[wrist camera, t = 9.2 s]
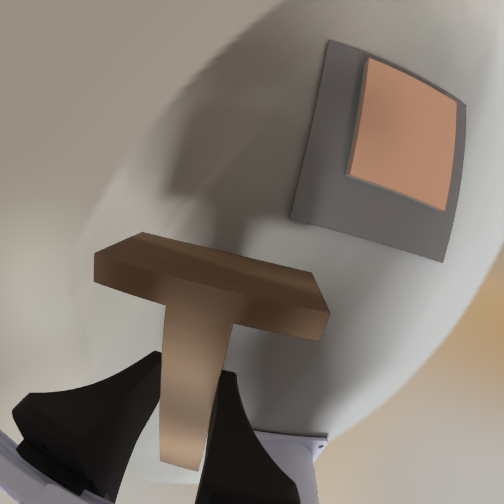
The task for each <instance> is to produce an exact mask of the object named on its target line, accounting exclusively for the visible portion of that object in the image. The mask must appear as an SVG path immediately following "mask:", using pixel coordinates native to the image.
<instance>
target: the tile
mask: <svg viewBox="0 0 504 504" xmlns="http://www.w3.org/2000/svg"><path fill="white" fill-rule="evenodd" d="M456 108H457V102H455V101H454V100H452V99H450V98H449V97H447V96H446V95H444V94H442V93H441V92H439V91H437V90H435V89H434V88H432V87H430V86H428V85H427V84H425V83H423V82H421V81H419V80H417V79H415V78H413V77H411V76H409V75H407V74H405V73H403V72H401V71H399V70H397V69H395V68H392V67H390V66H388V65H386V64H383V63H381V62H379V61H376V60H374V59H371V58H369V59H368V60H367V61H366V62H365V64H364V65H363V71H362V79H361V86H360V93H359V99H358V105H357V111H356V117H355V123H354V129H353V134H352V139H351V144H350V149H349V154H348V159H347V164H346V169H345V173H344V176H346V177H349V178H352V179H355V180H358V181H361V182H364V183H367V184H370V185H373V186H376V187H378V188H381V189H384V190H387V191H389V192H392V193H395V194H397V195H400V196H403V197H405V198H408V199H410V200H413V201H415V202H418V203H420V204H423V205H425V206H427V207H430V208H432V209H434V210H441V211H445V208H446V203H447V197H448V192H449V186H450V180H451V173H452V165H453V157H454V147H455V134H456Z"/></svg>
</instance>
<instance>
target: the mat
mask: <svg viewBox="0 0 504 504" xmlns="http://www.w3.org/2000/svg"><path fill="white" fill-rule="evenodd" d="M369 58H371V59H374V60H376V61H379V62H381V63H383V64H386V65H388V66H390V67H392V68H395V69H397V70H399V71H401V72H403V73H405V74H407V75H409V76H411V77H413V78H415V79H417V80H419V81H421V82H423V83H425V84H427V85H428V86H430V87H432V88H434V89H435V90H437V91H439V92H441V93H442V94H444V95H446V96H447V97H449V98H450V99H452V100H454V101H455V102H457V108H456V134H455V147H454V157H453V165H452V173H451V180H450V186H449V192H448V197H447V203H446V208H445V211H441V210H434V209H432V208H430V207H427V206H425V205H423V204H420V203H418V202H415V201H413V200H410V199H408V198H405V197H403V196H400V195H397V194H395V193H392V192H389V191H387V190H384V189H381V188H378V187H376V186H373V185H370V184H367V183H364V182H361V181H358V180H355V179H352V178H349V177H346V176H344V173H345V169H346V164H347V159H348V154H349V149H350V144H351V139H352V134H353V129H354V123H355V117H356V111H357V105H358V99H359V93H360V86H361V79H362V71H363V65H364V64H365V62H366V61H367V60H368V59H369ZM465 133H466V105H465V104H464V103H462V102H461V101H459V100H458V99H456V98H455V97H453V96H452V95H450V94H448V93H447V92H445V91H444V90H442V89H440V88H439V87H437V86H435V85H433V84H432V83H430V82H428V81H426V80H424V79H423V78H421V77H419V76H417V75H415V74H413V73H411V72H409V71H407V70H405V69H403V68H401V67H399V66H397V65H394V64H392V63H390V62H388V61H385V60H383V59H381V58H378V57H376V56H373V55H371V54H368V53H366V52H363V51H360V50H358V49H355V48H352V47H349V46H346V45H343V44H340V43H337V42H334V41H330V40H329V42H328V45H327V50H326V55H325V61H324V66H323V71H322V76H321V81H320V86H319V91H318V95H317V100H316V105H315V110H314V114H313V119H312V124H311V128H310V133H309V137H308V142H307V146H306V150H305V155H304V159H303V164H302V168H301V172H300V176H299V181H298V185H297V189H296V193H295V197H294V201H293V205H292V209H291V214H290V219H293V220H297V221H301V222H305V223H309V224H312V225H316V226H320V227H324V228H327V229H331V230H335V231H338V232H342V233H346V234H349V235H353V236H356V237H360V238H363V239H367V240H370V241H374V242H377V243H381V244H384V245H387V246H391V247H394V248H397V249H400V250H404V251H407V252H410V253H413V254H417V255H420V256H423V257H426V258H429V259H432V260H435V261H438V262H441V263H443V260H444V256H445V253H446V249H447V246H448V242H449V238H450V234H451V230H452V226H453V221H454V217H455V212H456V207H457V202H458V196H459V190H460V184H461V177H462V169H463V160H464V149H465Z"/></svg>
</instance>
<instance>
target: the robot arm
mask: <svg viewBox="0 0 504 504" xmlns="http://www.w3.org/2000/svg"><path fill="white" fill-rule="evenodd" d="M161 358H162V353H161V352H158V351H153V352H152V353H150V354H149V355H147V356H146V357H144V358H143V359H141V360H139V361H138V362H136V363H135V364H133V365H131V366H130V367H128V368H126V369H125V370H123V371H121V372H119V373H117V374H115V375H113V376H111V377H109V378H107V379H104V380H102V381H100V382H97V383H94V384H91V385H88V386H84V387H81V388H76V389H72V390H66V391H59V392H48V393H29V394H28V395H27V396H26V397H25V398H23V399H22V401H21V402H20V403H19V404H18V405H17V406H16V407H15V408H14V409H13V410H12V415H13V419H14V421H15V423H16V425H17V427H18V428H19V430H20V432H21V434H22V436H23V438H24V440H23V441H22V442H21V443H20V444H19V445H17V444H16V443H15V442H14V441H13V440H11V439H10V438H9V437H8V436H7V435H6V434H4V433H3V432H2V431H1V430H0V488H2V489H3V490H4V491H5V492H6V493H7V494H8V495H9V496H11V497H12V498H13V499H14V500H15V501H17V502H18V503H19V504H115V501H116V498H117V494H118V491H119V487H120V484H121V482H122V479H123V476H124V473H125V470H126V467H127V464H128V462H129V459H130V456H131V454H132V451H133V449H134V446H135V444H136V442H137V440H138V438H139V436H140V434H141V432H142V430H143V428H144V427H145V425H146V423H147V421H148V420H149V418H150V416H151V414H152V413H153V411H154V409H155V407H156V406H157V404H158V402H159V399H160V391H161V368H162V360H161ZM327 444H328V440H327V439H326V438H317V437H302V436H291V435H282V434H274V433H267V432H260V431H254V430H253V429H252V427H251V425H250V423H249V420H248V418H247V416H246V413H245V410H244V408H243V404H242V401H241V398H240V394H239V390H238V385H237V375H236V374H235V373H234V372H230V371H225V370H222V371H221V375H220V377H219V381H218V385H217V389H216V394H215V398H214V402H213V407H212V411H211V415H210V421H209V429H208V438H207V446H206V455H205V461H204V466H203V470H202V474H201V479H200V483H199V487H198V492H197V496H196V500H195V504H319V500H318V492H317V484H316V477H315V470H314V461H315V460H316V459H317V457H318V456H319V455H320V453H321V452H322V451H323V449H324V448H325V446H326V445H327Z"/></svg>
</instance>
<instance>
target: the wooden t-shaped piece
mask: <svg viewBox="0 0 504 504" xmlns="http://www.w3.org/2000/svg"><path fill="white" fill-rule="evenodd" d="M94 282H96V283H99V284H102V285H104V286H107V287H110V288H113V289H116V290H119V291H122V292H125V293H128V294H131V295H134V296H137V297H140V298H143V299H147V300H150V301H153V302H156V303H160V304H163V305H166V310H165V320H164V331H163V344H162V358H161V360H162V368H161V391H160V413H159V435H160V461H162V462H165V463H169V464H172V465H175V466H179V467H182V468H186V469H190V470H194V471H198V470H199V466H200V462H201V458H202V453H203V449H204V445H205V441H206V437H207V433H208V429H209V421H210V415H211V411H212V407H213V402H214V398H215V394H216V389H217V385H218V381H219V377H220V375H221V371H222V369H223V365H224V360H225V356H226V352H227V348H228V343H229V339H230V335H231V331H232V326H233V323H234V324H238V325H242V326H247V327H251V328H256V329H260V330H265V331H270V332H274V333H279V334H284V335H289V336H294V337H300V338H305V339H311V340H316V341H320V338H321V336H322V333H323V331H324V328H325V326H326V323H327V320H328V318H329V315H330V311H329V309H328V307H327V305H326V302H325V300H324V298H323V296H322V294H321V291H320V289H319V287H318V285H317V283H316V281H315V279H314V276H313V274H312V273H311V272H307V271H303V270H298V269H294V268H290V267H286V266H281V265H277V264H273V263H269V262H264V261H260V260H256V259H252V258H248V257H243V256H239V255H235V254H231V253H227V252H223V251H218V250H214V249H210V248H206V247H202V246H198V245H194V244H189V243H185V242H181V241H177V240H173V239H169V238H165V237H161V236H157V235H153V234H149V233H144V232H141V233H139V234H137V235H134V236H132V237H130V238H127V239H125V240H123V241H121V242H118V243H116V244H114V245H112V246H109V247H107V248H105V249H103V250H101V251H98V252H96V253H94Z"/></svg>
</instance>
